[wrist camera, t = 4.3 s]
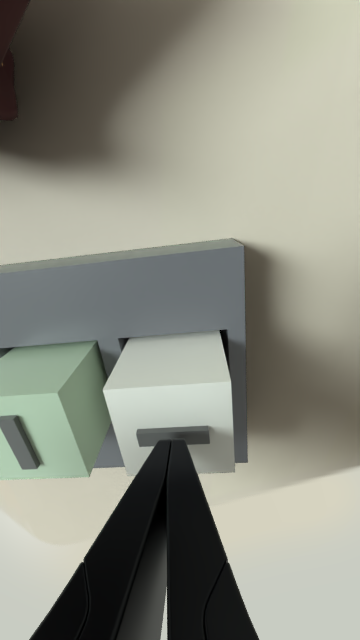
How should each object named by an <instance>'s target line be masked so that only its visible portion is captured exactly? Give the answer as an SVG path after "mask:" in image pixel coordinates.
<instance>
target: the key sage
mask: <svg viewBox="0 0 360 640" xmlns="http://www.w3.org/2000/svg"><path fill="white" fill-rule="evenodd" d="M107 380H108V377H107V373H106V370H105V366H104V362H103V359H102V355H101V352H100V348H99V344H98V341H97V340H93V341H81V342H69V343H58V344H46V345H34V346H22V347H15V348H13V349H12V350H11V351H9V352H8V353H7V354H5V355H4V356H3V357H1V358H0V480H15V479H46V478H76V477H90V474H91V472H92V469H93V467H94V464H95V462H96V459H97V457H98V454H99V451H100V449H101V446H102V444H103V441H104V439H105V436H106V434H107V431H108V429H109V426H110V424H111V417H110V414H109V410H108V407H107V403H106V400H105V397H104V393H103V388H104V386H105V384H106V382H107Z"/></svg>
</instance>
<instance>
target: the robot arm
mask: <svg viewBox="0 0 360 640" xmlns="http://www.w3.org/2000/svg"><path fill="white" fill-rule="evenodd" d="M166 587H167V635H168V636H167V637H168V640H259V638H258V636H257V633H256V631H255V629H254V627H253V625H252V622H251V620H250V617H249V615H248V612H247V610H246V608H245V605H244V602H243V599H242V597H241V594H240V591H239V589H238V586H237V584H236V581H235V578H234V575H233V572H232V570H231V567H230V564H229V563H228V559H227V556H226V553H225V551H224V548H223V545H222V542H221V539H220V536H219V534H218V530H217V528H216V525H215V522H214V519H213V516H212V514H211V511H210V508H209V505H208V502H207V500H206V497H205V494H204V491H203V488H202V485H201V483H200V480H199V477H198V474H197V471H196V469H195V466H194V463H193V460H192V457H191V454H190V452H189V449H188V446H187V443H186V441H185V439H184V438H179V439H173V440H171V439H160V440H158V442H157V443H156V445H155V446H154V448H153V449H152V451H151V453H150V454H149V456H148V457H147V459H146V461H145V462H144V464H143V465H142V467H141V468H140V470H139V472H138V473H137V475H136V476H135V478H134V480H133V481H132V483H131V484H130V486H129V488H128V489H127V491H126V492H125V494H124V495H123V497H122V499H121V500H120V502H119V503H118V505H117V507H116V508H115V510H114V511H113V513H112V514H111V516H110V518H109V519H108V521H107V522H106V524H105V526H104V527H103V529H102V530H101V532H100V533H99V535H98V537H97V538H96V540H95V541H94V543H93V545H92V546H91V548H90V549H89V551H88V553H87V554H86V556H85V557H84V562H82V563H80V565H79V567H78V568H77V570H76V571H75V573H74V574H73V576H72V578H71V579H70V581H69V582H68V584H67V585H66V587H65V588H64V590H63V592H62V593H61V595H60V596H59V598H58V599H57V601H56V602H55V604H54V605H53V607H52V608H51V610H50V611H49V613H48V614H47V615H46V617H45V618H44V620H43V621H42V622H41V624H40V625H39V627H38V628H37V629H36V631H35V632H34V634H33V635H32V636H31V638H30V639H29V640H160V637H161V628H162V621H163V612H164V603H165V595H166Z"/></svg>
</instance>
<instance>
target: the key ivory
mask: <svg viewBox="0 0 360 640" xmlns="http://www.w3.org/2000/svg"><path fill="white" fill-rule="evenodd" d="M103 393H104V397H105V400H106V403H107V407H108V410H109V414H110V417H111V421H112V424H113V427H114V431H115V434H116V438H117V441H118V445H119V448H120V451H121V455H122V458H123V462H124V465H125V469H126V472H127V475H128V476H136V475H137V473H138V472H139V470H140V468H141V467H142V465H143V464H144V462H145V461H146V459H147V457H148V456H149V454H150V453H151V451H152V449H153V448H154V446H155V445H156V443H157V442H158V440H160V439H171V440H173V439H179V438H184V439H185V441H186V443H187V446H188V449H189V452H190V454H191V457H192V460H193V463H194V466H195V469H196V471H197V474H198V473H229V472H235V457H234V435H233V413H232V391H231V379H230V375H229V370H228V366H227V361H226V357H225V353H224V348H223V344H222V339H221V335H220V331H219V330H212V331H200V332H188V333H176V334H165V335H153V336H141V337H130V338H129V340H128V342H127V344H126V345H125V347H124V349H123V351H122V353H121V355H120V357H119V359H118V361H117V363H116V365H115V367H114V369H113V371H112V373H111V374H110V376H109V378H108V380H107V382H106V384H105V386H104V388H103Z"/></svg>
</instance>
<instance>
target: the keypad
mask: <svg viewBox="0 0 360 640" xmlns="http://www.w3.org/2000/svg"><path fill="white" fill-rule="evenodd" d="M212 330H222V342H223V348H224V353H225V357H226V361H227V366H228V370H229V375H230V379H231V391H232V413H233V435H234V457H235V463H246V462H248V455H247V395H246V335H245V275H244V246H243V245H242V244H240V243H239V242H237V241H235V240H234V239H232V238H231V239H222V240H213V241H205V242H196V243H188V244H179V245H171V246H162V247H153V248H145V249H136V250H128V251H119V252H110V253H102V254H93V255H85V256H76V257H68V258H59V259H50V260H42V261H33V262H25V263H16V264H7V265H0V358H1V357H3V356H4V355H5V354H7V353H8V352H9V351H11V350H12V349H13V348H15V347H22V346H34V345H46V344H58V343H69V342H81V341H93V340H97V341H98V344H99V348H100V352H101V355H102V359H103V362H104V366H105V370H106V373H107V377H108V378H109V376H110V374H111V373H112V371H113V369H114V367H115V365H116V363H117V361H118V359H119V357H120V355H121V353H122V351H123V349H124V347H125V345H126V344H127V342H128V340H129V338H130V337H141V336H153V335H165V334H176V333H188V332H200V331H212ZM108 467H125V465H124V462H123V458H122V455H121V451H120V448H119V445H118V441H117V438H116V434H115V431H114V427H113V424H112V421H111V424H110V426H109V429H108V431H107V434H106V436H105V439H104V441H103V444H102V446H101V449H100V451H99V454H98V457H97V459H96V462H95V464H94V467H93V468H108Z"/></svg>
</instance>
